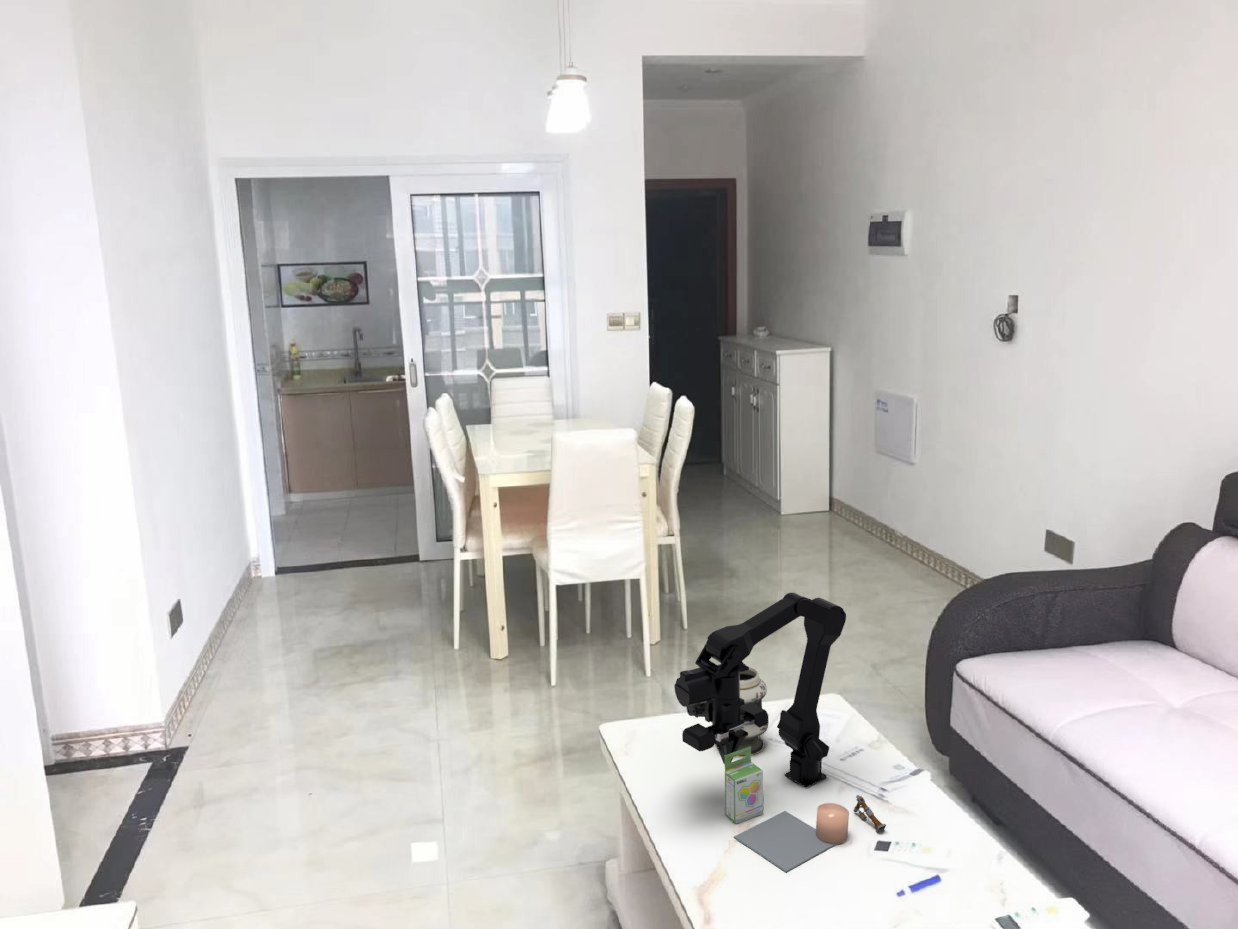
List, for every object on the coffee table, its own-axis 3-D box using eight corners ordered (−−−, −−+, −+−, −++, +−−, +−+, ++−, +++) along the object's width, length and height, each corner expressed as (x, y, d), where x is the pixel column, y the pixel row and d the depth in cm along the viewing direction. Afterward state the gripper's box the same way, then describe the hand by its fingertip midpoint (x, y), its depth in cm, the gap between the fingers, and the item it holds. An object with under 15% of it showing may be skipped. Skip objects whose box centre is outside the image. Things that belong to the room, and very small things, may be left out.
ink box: (736, 825, 193) (735, 763, 190) (724, 815, 196) (723, 755, 194) (764, 814, 196) (763, 753, 194) (752, 805, 200) (751, 745, 197)
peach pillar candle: (830, 823, 192) (831, 800, 191) (853, 837, 188) (855, 813, 187) (809, 832, 189) (810, 809, 188) (832, 847, 184) (834, 822, 183)
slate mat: (785, 812, 197) (785, 810, 197) (838, 844, 186) (838, 842, 186) (733, 838, 189) (733, 836, 189) (786, 872, 178) (786, 871, 178)
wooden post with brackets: (855, 805, 197) (861, 791, 194) (880, 838, 191) (886, 824, 188) (848, 808, 196) (854, 794, 193) (872, 841, 190) (879, 827, 188)
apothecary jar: (710, 735, 229) (709, 664, 225) (760, 730, 230) (760, 659, 227) (721, 761, 217) (720, 686, 214) (774, 756, 219) (774, 681, 215)
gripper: (733, 668, 207) (734, 735, 210) (664, 693, 196) (666, 763, 200) (770, 685, 198) (770, 755, 201) (699, 713, 187) (701, 786, 191)
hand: (726, 764), depth 199 cm, fingers closed
